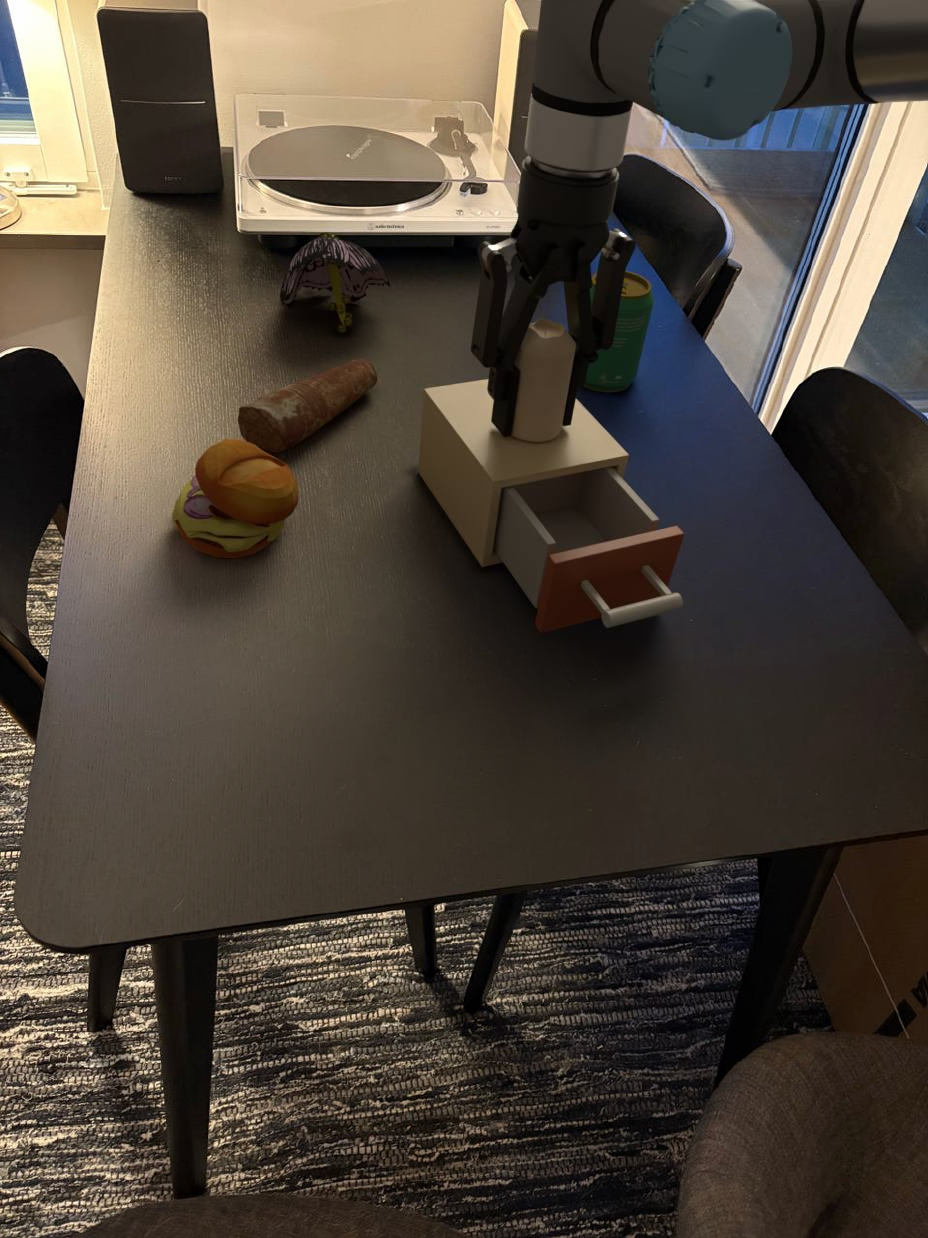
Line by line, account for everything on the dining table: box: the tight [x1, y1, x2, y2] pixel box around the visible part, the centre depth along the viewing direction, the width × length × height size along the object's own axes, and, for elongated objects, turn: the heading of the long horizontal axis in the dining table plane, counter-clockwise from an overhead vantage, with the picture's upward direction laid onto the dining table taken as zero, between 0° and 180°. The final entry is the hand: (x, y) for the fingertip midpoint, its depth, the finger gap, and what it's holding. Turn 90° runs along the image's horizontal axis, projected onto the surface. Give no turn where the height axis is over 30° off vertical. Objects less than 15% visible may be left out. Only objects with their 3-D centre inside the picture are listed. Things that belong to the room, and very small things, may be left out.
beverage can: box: [583, 270, 655, 393], centre depth 114 cm, size 8×8×12 cm
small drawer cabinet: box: [417, 378, 630, 568], centre depth 94 cm, size 16×14×10 cm
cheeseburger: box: [171, 438, 299, 559], centre depth 88 cm, size 10×11×10 cm
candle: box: [511, 317, 576, 442], centre depth 86 cm, size 6×6×10 cm
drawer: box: [493, 466, 685, 634], centre depth 86 cm, size 20×13×8 cm, turn 24°
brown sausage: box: [237, 358, 378, 453], centre depth 103 cm, size 6×19×6 cm, turn 145°
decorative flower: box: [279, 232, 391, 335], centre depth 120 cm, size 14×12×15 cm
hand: (531, 422), depth 90 cm, fingers closed on candle, 5 cm apart
